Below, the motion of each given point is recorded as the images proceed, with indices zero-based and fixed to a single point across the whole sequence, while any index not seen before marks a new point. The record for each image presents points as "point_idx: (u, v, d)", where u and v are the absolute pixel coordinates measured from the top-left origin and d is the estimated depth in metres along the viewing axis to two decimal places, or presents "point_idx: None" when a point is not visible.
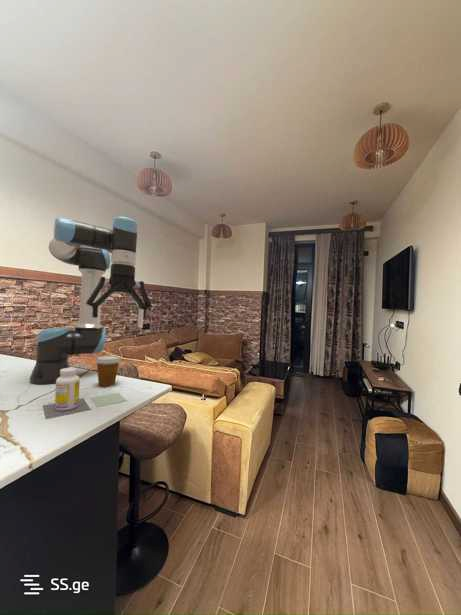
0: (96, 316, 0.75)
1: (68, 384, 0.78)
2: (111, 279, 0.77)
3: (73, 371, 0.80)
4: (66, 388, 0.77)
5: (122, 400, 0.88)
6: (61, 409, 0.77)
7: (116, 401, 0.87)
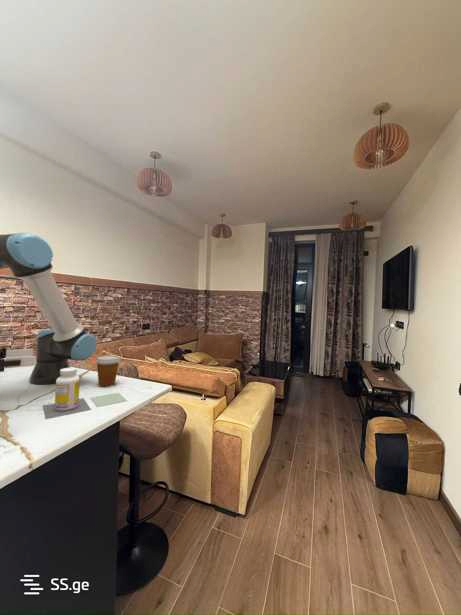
0: None
1: (68, 384, 0.78)
2: None
3: (73, 371, 0.80)
4: (66, 388, 0.77)
5: (122, 400, 0.88)
6: (61, 409, 0.77)
7: (116, 401, 0.87)
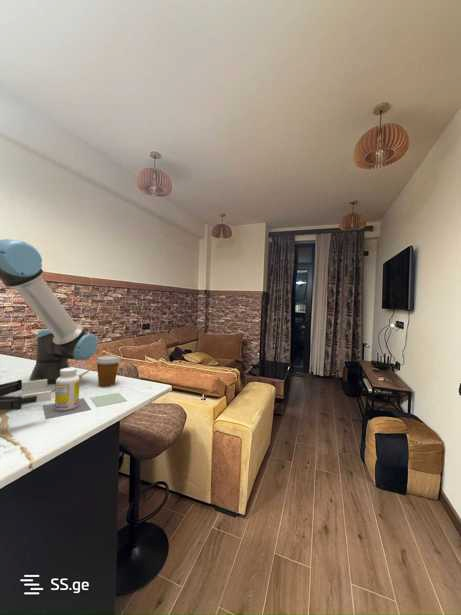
0: None
1: (68, 384, 0.78)
2: None
3: (73, 371, 0.80)
4: (66, 388, 0.77)
5: (122, 400, 0.88)
6: (61, 409, 0.77)
7: (116, 401, 0.87)
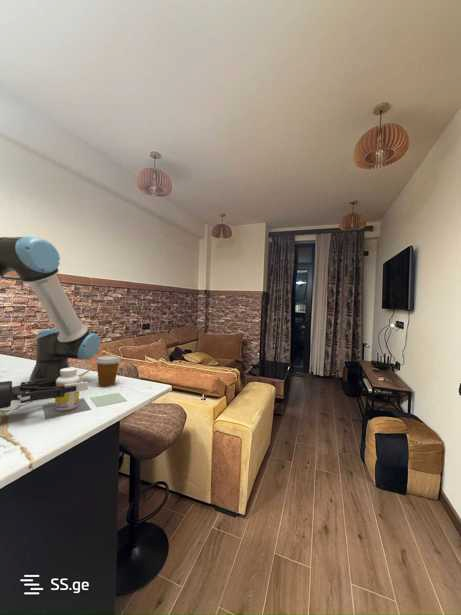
0: None
1: None
2: None
3: (73, 371, 0.80)
4: None
5: (122, 400, 0.88)
6: (61, 409, 0.77)
7: (116, 401, 0.87)
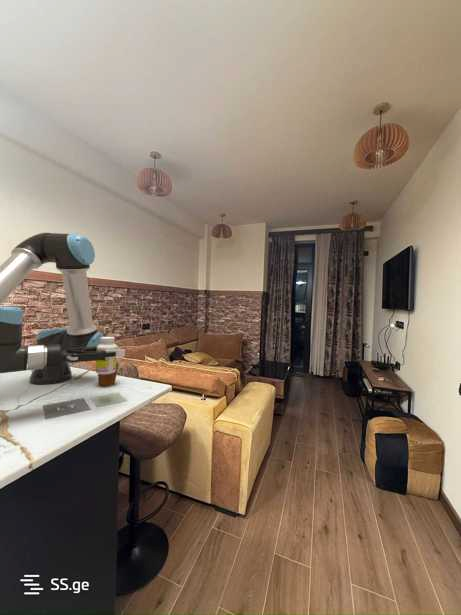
0: None
1: None
2: None
3: (112, 339, 0.87)
4: None
5: (122, 400, 0.88)
6: (102, 372, 0.84)
7: (116, 401, 0.87)
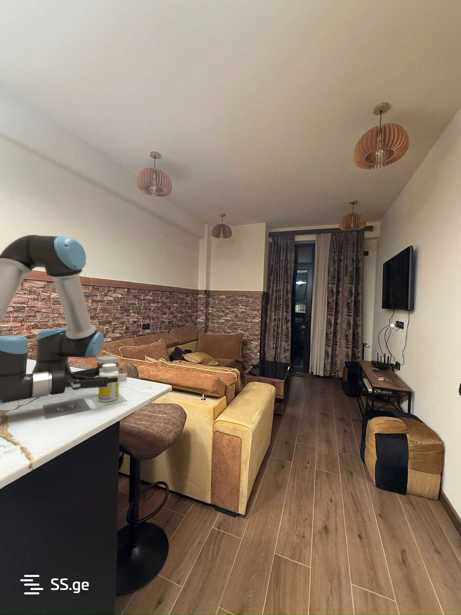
0: None
1: None
2: None
3: (114, 366, 0.88)
4: None
5: (122, 400, 0.88)
6: (105, 400, 0.86)
7: (116, 401, 0.87)
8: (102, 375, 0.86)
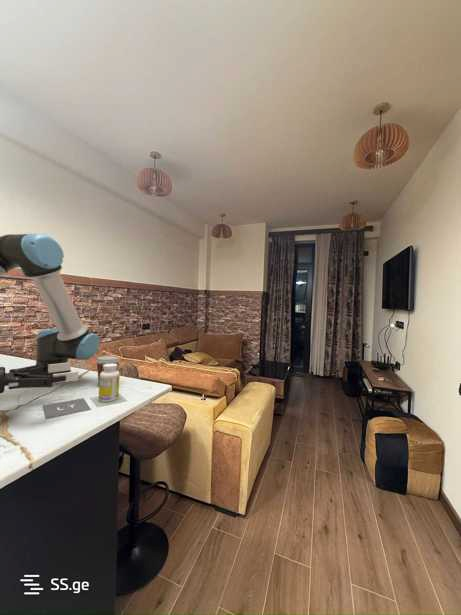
0: None
1: (111, 378, 0.86)
2: None
3: (115, 366, 0.88)
4: (110, 382, 0.86)
5: (122, 400, 0.88)
6: (105, 400, 0.86)
7: (116, 401, 0.87)
8: (103, 375, 0.86)
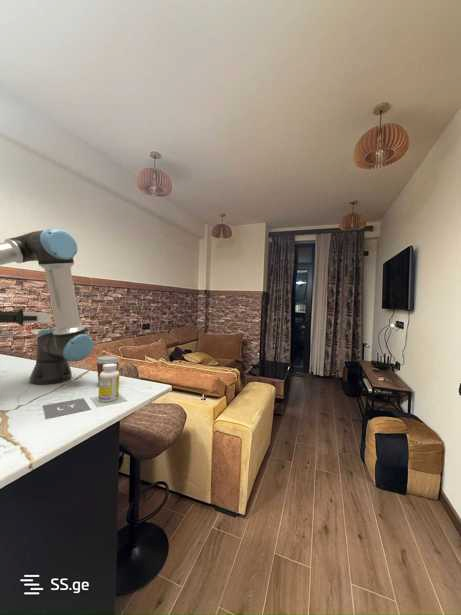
0: None
1: (111, 378, 0.86)
2: None
3: (114, 366, 0.88)
4: (109, 381, 0.86)
5: (122, 400, 0.88)
6: (105, 400, 0.86)
7: (116, 401, 0.87)
8: (103, 375, 0.86)
